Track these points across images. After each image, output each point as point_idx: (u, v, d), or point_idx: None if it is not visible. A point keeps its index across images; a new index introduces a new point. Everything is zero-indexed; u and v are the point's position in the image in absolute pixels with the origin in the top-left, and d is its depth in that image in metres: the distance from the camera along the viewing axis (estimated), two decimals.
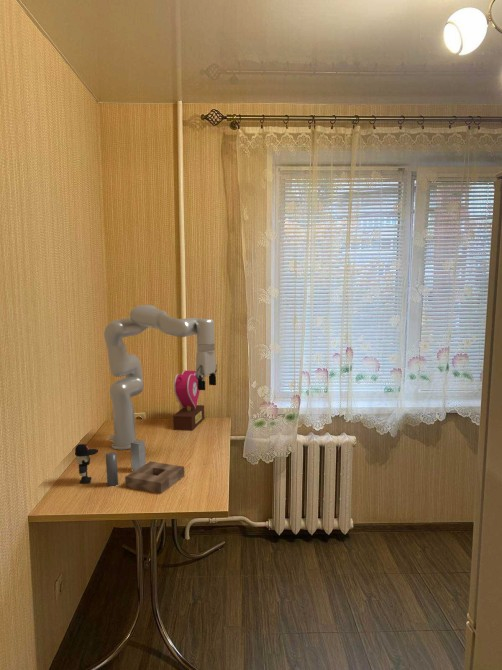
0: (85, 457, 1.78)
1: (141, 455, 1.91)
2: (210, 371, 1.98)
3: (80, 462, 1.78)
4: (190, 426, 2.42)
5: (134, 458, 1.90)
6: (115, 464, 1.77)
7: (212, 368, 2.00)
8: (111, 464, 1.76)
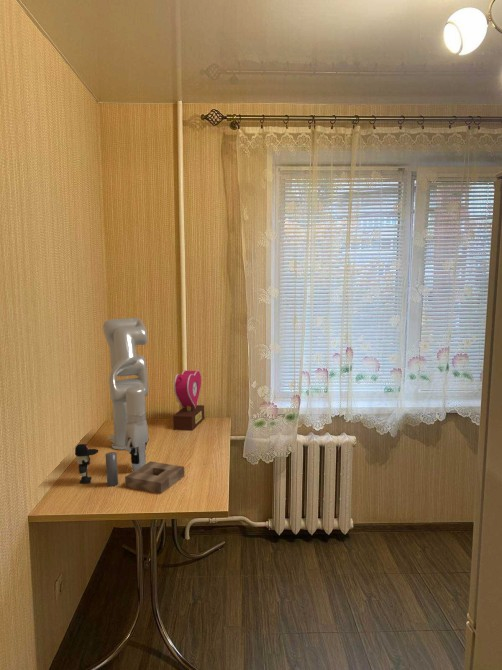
0: (85, 457, 1.78)
1: (141, 454, 1.91)
2: (141, 442, 1.90)
3: (80, 462, 1.78)
4: (190, 426, 2.42)
5: None
6: (115, 464, 1.77)
7: (143, 439, 1.91)
8: (111, 464, 1.76)
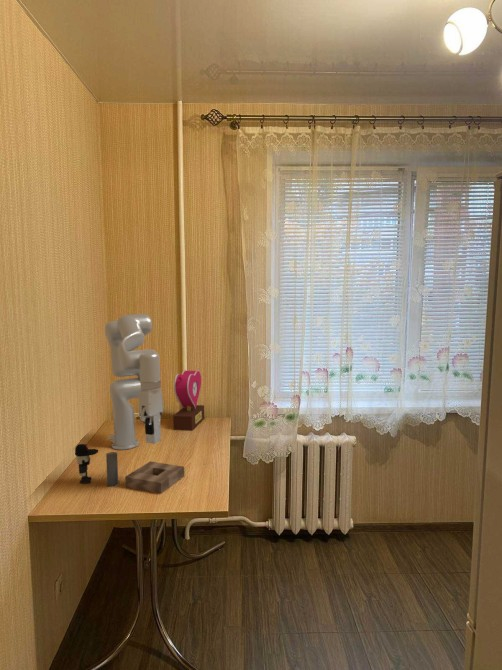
0: (85, 457, 1.78)
1: (156, 425, 1.78)
2: (155, 411, 1.77)
3: (80, 462, 1.78)
4: (190, 426, 2.42)
5: None
6: (115, 464, 1.77)
7: (158, 408, 1.78)
8: (112, 464, 1.76)
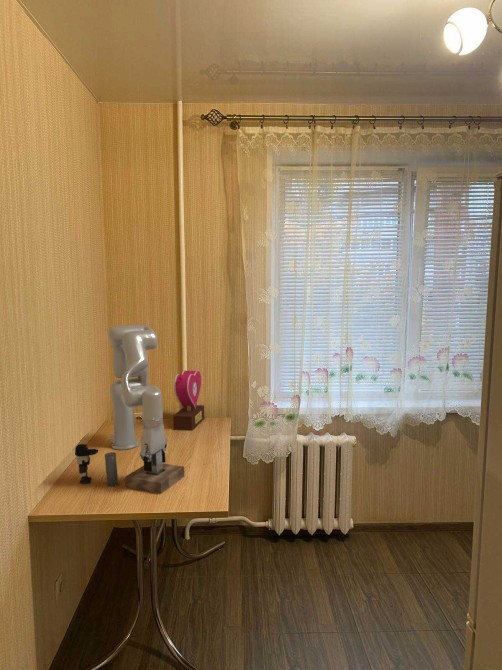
0: (85, 457, 1.78)
1: (159, 465, 1.79)
2: (157, 449, 1.78)
3: (80, 462, 1.78)
4: (190, 426, 2.42)
5: None
6: (115, 464, 1.77)
7: (160, 445, 1.79)
8: (111, 464, 1.76)
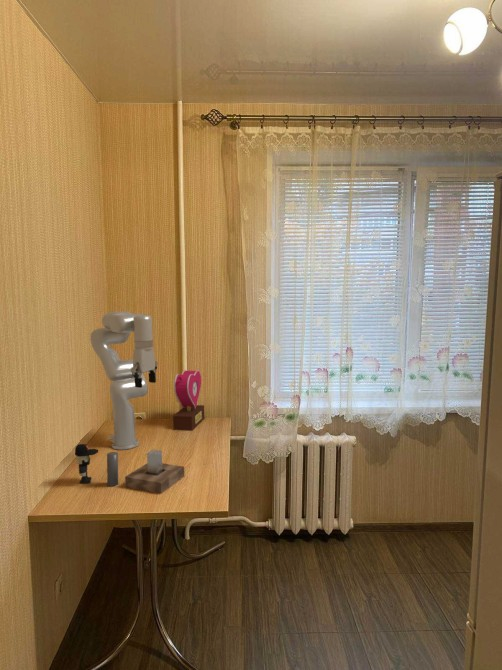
0: (85, 457, 1.78)
1: (159, 465, 1.79)
2: (148, 368, 1.96)
3: (80, 462, 1.78)
4: (190, 426, 2.42)
5: (151, 469, 1.78)
6: (116, 464, 1.78)
7: (150, 365, 1.98)
8: (113, 464, 1.76)
